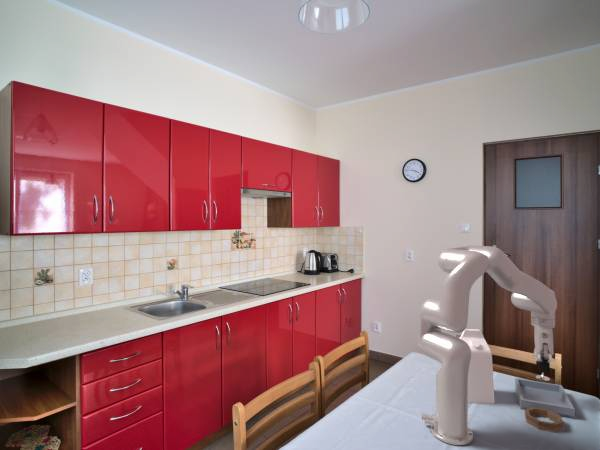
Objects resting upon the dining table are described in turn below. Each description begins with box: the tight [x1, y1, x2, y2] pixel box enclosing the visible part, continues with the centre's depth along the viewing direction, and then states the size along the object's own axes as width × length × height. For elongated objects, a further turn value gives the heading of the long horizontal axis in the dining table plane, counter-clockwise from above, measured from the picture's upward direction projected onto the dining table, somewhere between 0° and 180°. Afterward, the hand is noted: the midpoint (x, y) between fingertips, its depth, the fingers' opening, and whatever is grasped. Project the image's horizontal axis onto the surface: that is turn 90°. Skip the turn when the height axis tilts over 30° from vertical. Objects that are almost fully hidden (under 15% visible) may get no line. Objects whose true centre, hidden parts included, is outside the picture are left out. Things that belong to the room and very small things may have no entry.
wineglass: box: [533, 344, 553, 382], centre depth 137 cm, size 6×6×12 cm
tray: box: [514, 377, 575, 420], centre depth 138 cm, size 16×20×4 cm
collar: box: [524, 407, 565, 433], centre depth 124 cm, size 10×10×2 cm
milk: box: [459, 328, 495, 405], centre depth 143 cm, size 12×12×26 cm
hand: (542, 368), depth 137 cm, fingers closed on wineglass, 5 cm apart
